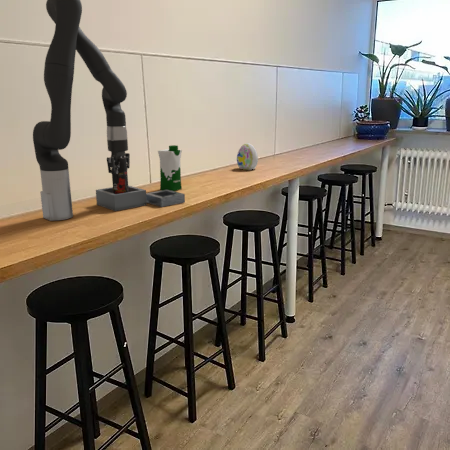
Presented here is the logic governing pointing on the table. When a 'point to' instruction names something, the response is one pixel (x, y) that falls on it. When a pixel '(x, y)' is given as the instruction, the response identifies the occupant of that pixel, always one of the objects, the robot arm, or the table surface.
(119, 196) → the bin
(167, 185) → the milk carton
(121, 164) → the deodorant
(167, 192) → the socket collar
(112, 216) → the table surface
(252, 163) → the decorative egg
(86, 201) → the table surface
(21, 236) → the table surface
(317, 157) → the table surface
